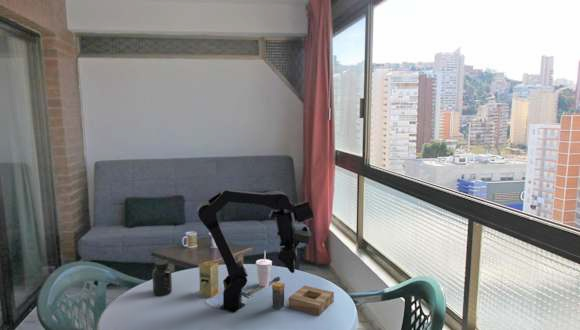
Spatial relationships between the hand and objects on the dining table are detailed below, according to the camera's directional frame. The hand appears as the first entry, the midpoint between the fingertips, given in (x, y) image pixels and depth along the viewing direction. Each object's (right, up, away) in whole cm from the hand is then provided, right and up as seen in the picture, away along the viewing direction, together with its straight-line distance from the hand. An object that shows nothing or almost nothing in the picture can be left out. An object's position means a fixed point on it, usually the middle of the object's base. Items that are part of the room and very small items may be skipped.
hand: (294, 267), depth 148 cm
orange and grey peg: (-6, -13, -4) cm, 15 cm away
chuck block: (+6, -13, -1) cm, 15 cm away
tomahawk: (-11, -12, +12) cm, 21 cm away
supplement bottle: (-50, -12, +8) cm, 52 cm away
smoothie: (-12, -11, +15) cm, 22 cm away
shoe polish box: (-32, -12, +7) cm, 35 cm away
